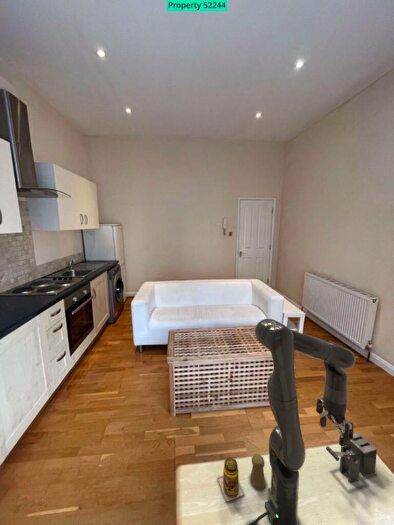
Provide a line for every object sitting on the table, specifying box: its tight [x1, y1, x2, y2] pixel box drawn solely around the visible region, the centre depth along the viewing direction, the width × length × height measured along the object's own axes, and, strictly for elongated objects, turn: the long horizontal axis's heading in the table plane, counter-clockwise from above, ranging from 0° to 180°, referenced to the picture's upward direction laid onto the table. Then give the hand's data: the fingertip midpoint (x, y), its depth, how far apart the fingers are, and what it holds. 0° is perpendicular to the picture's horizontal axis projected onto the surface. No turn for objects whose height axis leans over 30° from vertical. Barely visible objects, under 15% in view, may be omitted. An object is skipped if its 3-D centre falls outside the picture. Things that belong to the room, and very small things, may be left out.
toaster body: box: [346, 431, 378, 477], centre depth 96 cm, size 7×8×12 cm
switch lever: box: [325, 445, 354, 462], centre depth 90 cm, size 12×5×2 cm, turn 103°
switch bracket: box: [339, 445, 360, 485], centre depth 91 cm, size 10×8×13 cm
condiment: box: [217, 456, 244, 502], centre depth 89 cm, size 7×8×12 cm
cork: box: [249, 453, 266, 490], centre depth 91 cm, size 6×6×11 cm
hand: (332, 435), depth 84 cm, fingers open, 8 cm apart
